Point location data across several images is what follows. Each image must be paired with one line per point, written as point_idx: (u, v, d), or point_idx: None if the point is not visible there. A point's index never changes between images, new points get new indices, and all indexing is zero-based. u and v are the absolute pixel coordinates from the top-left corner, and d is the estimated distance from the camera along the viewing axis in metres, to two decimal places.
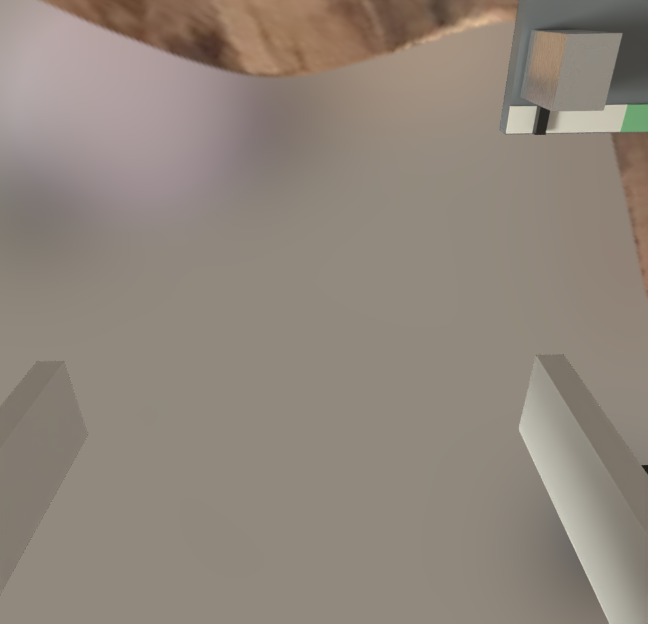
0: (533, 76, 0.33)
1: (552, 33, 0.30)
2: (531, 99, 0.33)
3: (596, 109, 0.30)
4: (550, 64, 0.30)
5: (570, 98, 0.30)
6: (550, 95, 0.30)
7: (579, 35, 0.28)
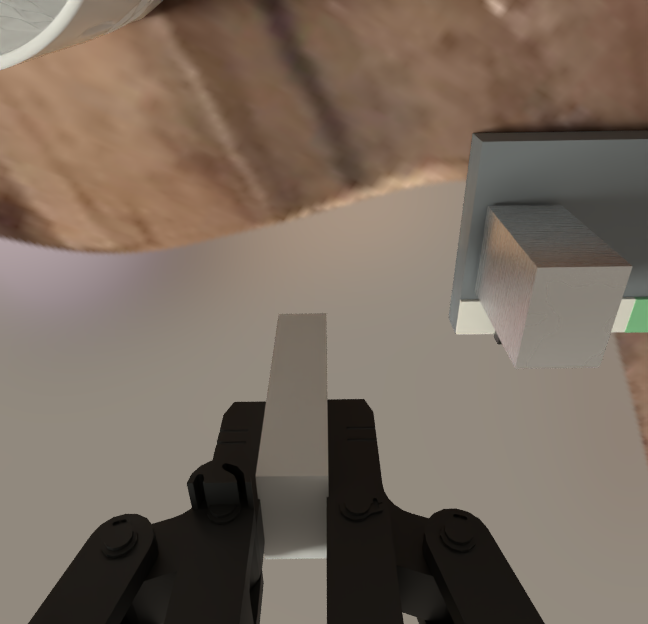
0: (490, 280, 0.21)
1: (515, 241, 0.18)
2: (488, 313, 0.21)
3: (587, 365, 0.18)
4: (513, 289, 0.18)
5: (544, 351, 0.18)
6: (513, 339, 0.19)
7: (558, 269, 0.16)
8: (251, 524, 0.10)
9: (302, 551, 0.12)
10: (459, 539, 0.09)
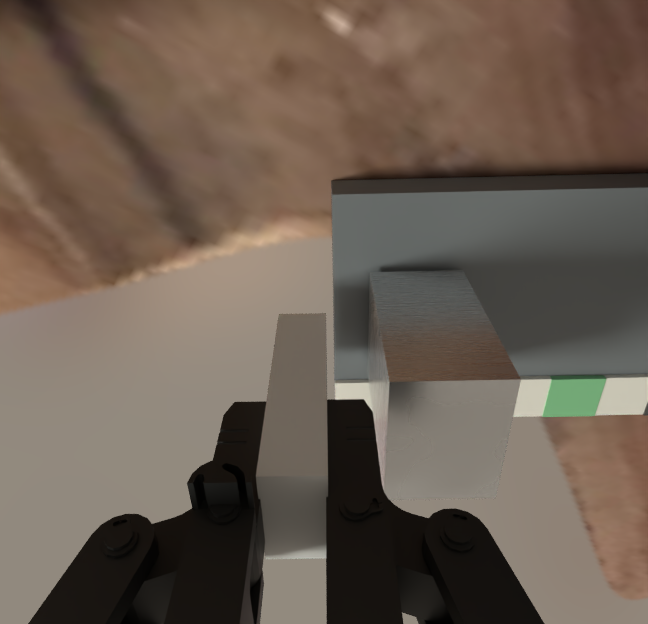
0: (372, 368, 0.17)
1: (380, 333, 0.14)
2: (372, 408, 0.17)
3: (479, 496, 0.14)
4: (380, 394, 0.14)
5: (418, 481, 0.14)
6: (381, 459, 0.14)
7: (418, 384, 0.12)
8: (251, 524, 0.10)
9: (302, 551, 0.12)
10: (459, 539, 0.09)
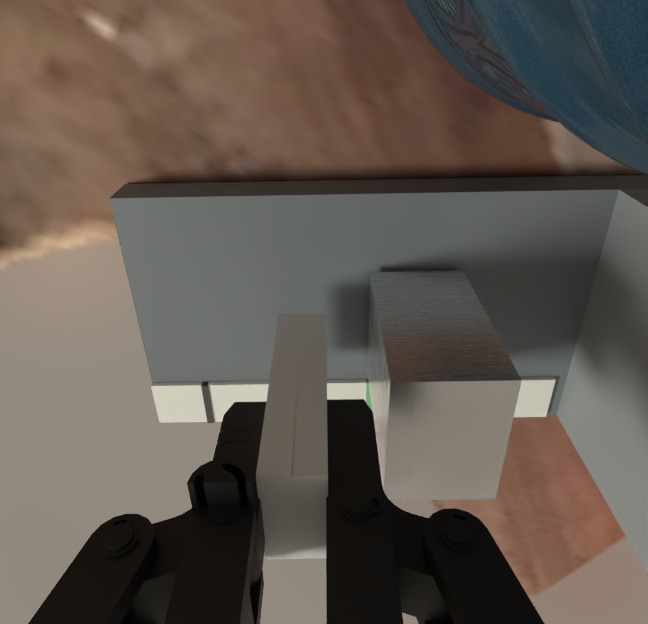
0: (372, 368, 0.17)
1: (380, 333, 0.14)
2: (372, 407, 0.17)
3: (479, 497, 0.14)
4: (380, 394, 0.14)
5: (417, 481, 0.14)
6: (382, 460, 0.14)
7: (418, 385, 0.12)
8: (251, 524, 0.10)
9: (302, 551, 0.12)
10: (459, 539, 0.09)
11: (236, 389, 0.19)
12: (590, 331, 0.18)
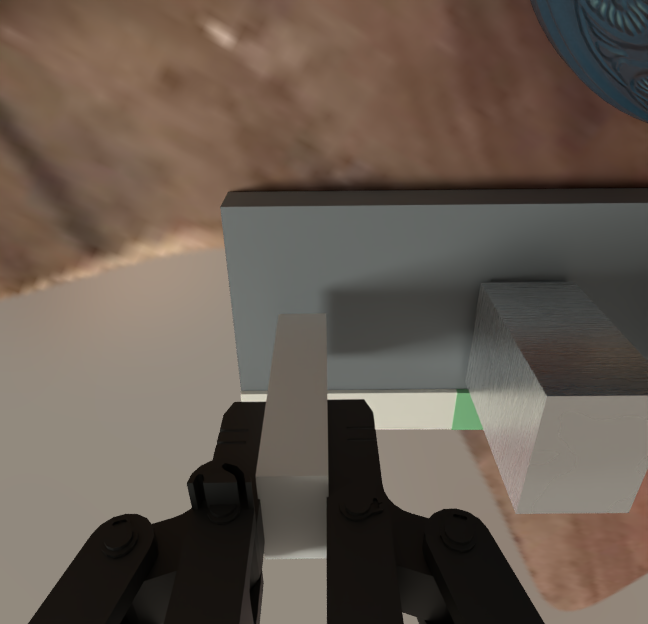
0: (484, 378, 0.16)
1: (516, 345, 0.14)
2: (481, 418, 0.17)
3: (612, 510, 0.14)
4: (513, 406, 0.14)
5: (554, 494, 0.13)
6: (512, 473, 0.14)
7: (575, 399, 0.12)
8: (251, 524, 0.10)
9: (302, 551, 0.12)
10: (459, 539, 0.09)
11: None
12: None
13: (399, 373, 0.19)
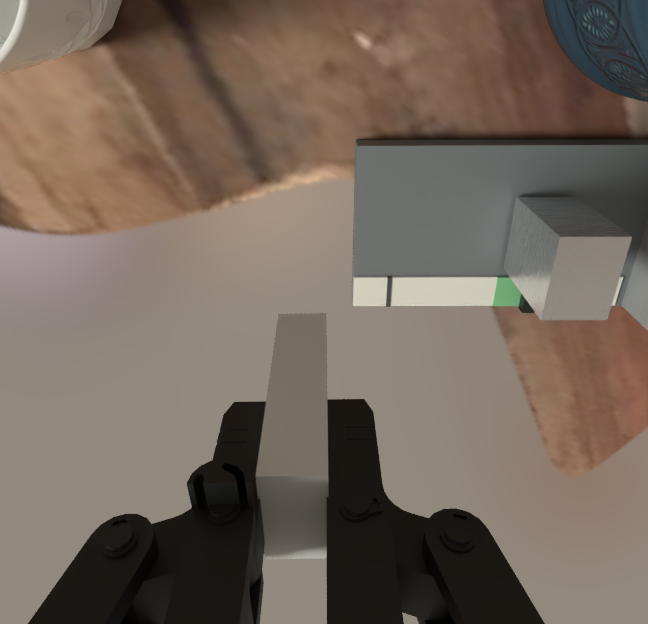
0: (518, 256, 0.26)
1: (541, 220, 0.23)
2: (516, 283, 0.27)
3: (597, 318, 0.23)
4: (539, 258, 0.24)
5: (563, 306, 0.23)
6: (538, 297, 0.24)
7: (575, 238, 0.22)
8: (251, 524, 0.10)
9: (302, 551, 0.12)
10: (459, 539, 0.09)
11: (410, 281, 0.29)
12: None
13: (459, 263, 0.29)
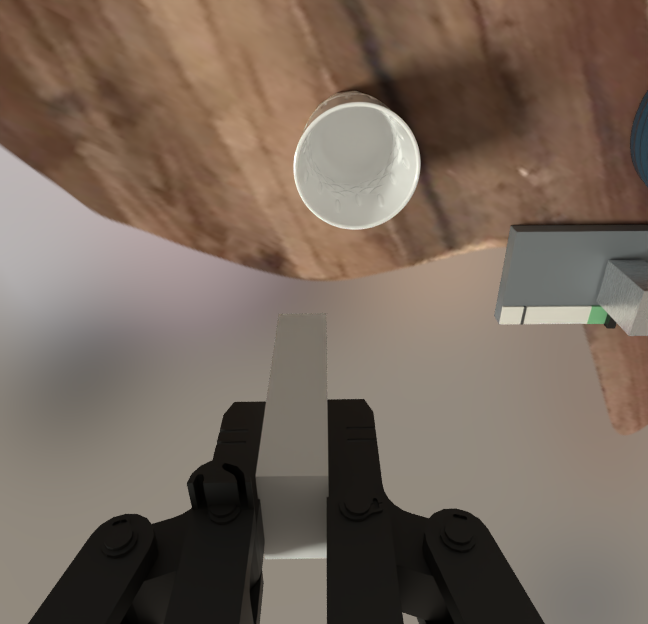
0: (610, 296, 0.44)
1: (629, 279, 0.41)
2: (608, 312, 0.44)
3: None
4: (627, 300, 0.41)
5: (642, 328, 0.41)
6: (627, 322, 0.41)
7: None
8: (251, 524, 0.10)
9: (302, 551, 0.12)
10: (459, 539, 0.09)
11: (537, 309, 0.47)
12: None
13: (568, 298, 0.46)
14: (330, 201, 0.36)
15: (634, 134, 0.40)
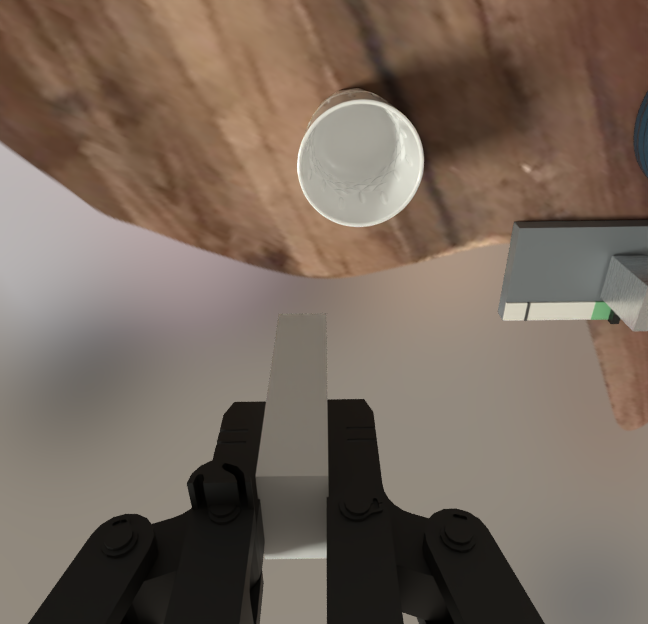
0: (614, 291, 0.44)
1: (633, 274, 0.41)
2: (611, 307, 0.44)
3: None
4: (631, 295, 0.41)
5: (646, 323, 0.41)
6: (631, 318, 0.41)
7: None
8: (251, 524, 0.10)
9: (302, 551, 0.12)
10: (459, 539, 0.09)
11: (541, 305, 0.47)
12: None
13: (572, 294, 0.46)
14: (334, 199, 0.37)
15: (638, 129, 0.40)
